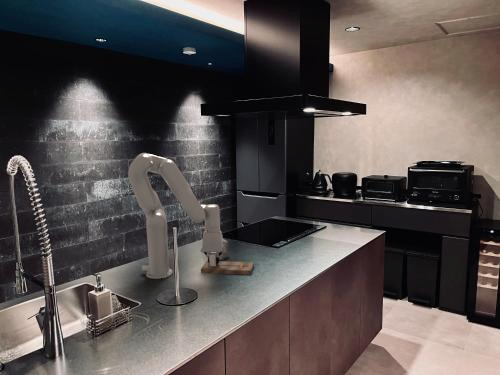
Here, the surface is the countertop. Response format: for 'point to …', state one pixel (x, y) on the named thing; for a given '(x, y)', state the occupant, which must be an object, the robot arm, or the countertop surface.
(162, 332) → the countertop surface
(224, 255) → the digital clock
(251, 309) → the countertop surface
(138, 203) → the robot arm
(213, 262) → the fader knob
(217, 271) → the console board
